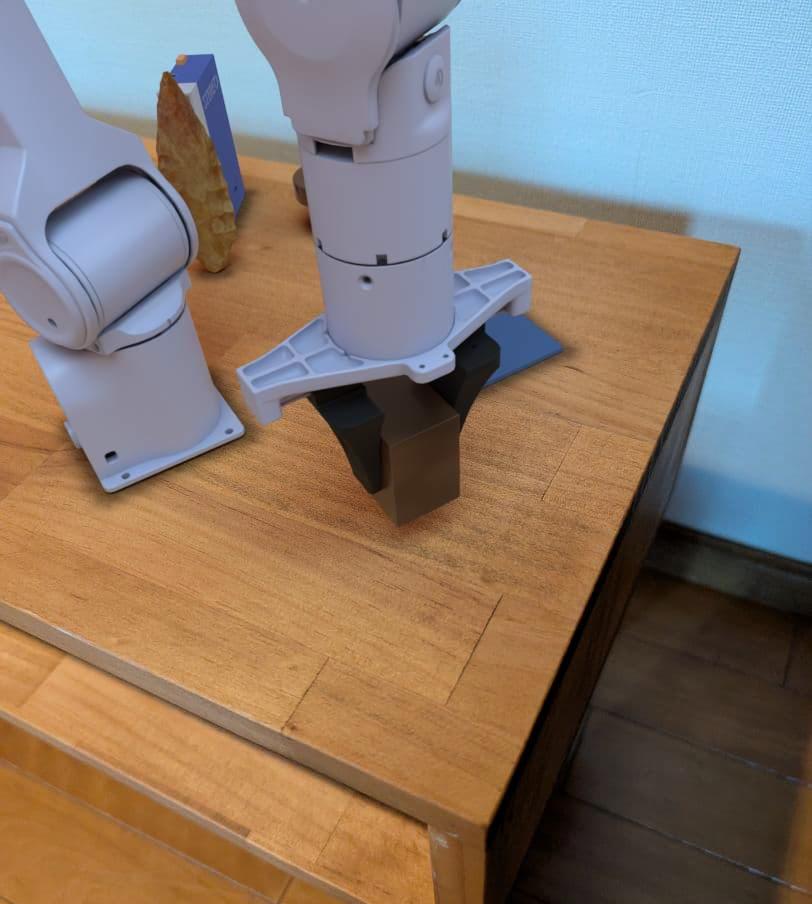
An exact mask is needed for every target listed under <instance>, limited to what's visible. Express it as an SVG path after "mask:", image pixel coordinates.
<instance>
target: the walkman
mask: <svg viewBox="0 0 812 904" xmlns="http://www.w3.org/2000/svg"><path fill="white" fill-rule="evenodd" d="M169 73H170V74H171V75H172V77H173V78H174V80H175V81H176V82H177V83H178V86H179V87H180V88H181V89H182V91H183V93H184V94H185V95H186V97H187V99H188V100H189V101H190V103H191V106H192V107H193V109H194V112H195V114H196V115H197V116H198V118H199V120H200V121H201V123H202V124H203V126H204V128H205V130H206V133H207V135H208V136H209V137H210V138H211V140H212V141H213V143H214V147H215V149H216V154H217V157H218V160H219V161H220V164H221V167H222V172H223V177H224V179H225V181H226V183H227V185H228V192H229V198H230V200H231V202H232V204H233V209H234V214H235V215H234V220H235V221H236V220H237V219H236V218H237V216H238V214H239V211H240V208H241V206H242V204H243V201H244V198H245V196H246V189H245V184H244V181H243V176H242V173H241V167H240V164H239V158H238V155H237V150H236V146H235V141H234V138H233V131H232V129H231V124H230V120H229V115H228V111H227V108H226V106H227V105H226V102H225V98H224V97H225V96H224V94H223V89H222V85H221V81H220V75H219V71H218V68H217V63H216V59H215V54H214V53H201V54H199V53H198V54H186V53H185V54H178V56H177V57H176V59H175V64H174V66H173V67H172V69H171V70H170V71H169ZM159 91H160V88H159V89H158V90H157V92H156V97H157V98H158V96H159Z"/></svg>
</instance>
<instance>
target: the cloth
mask: <svg viewBox="0 0 812 904" xmlns="http://www.w3.org/2000/svg"><path fill="white" fill-rule="evenodd" d="M485 332H486V333H487V334H488V335H489V336H490V337H491V338H493V339H494V340H495V341H496V342H497V343H498V344H499V345H500V348H501V354H500V367H499V368H498V369H497V370H496V371H495V372H494V374H493V375H492V376H491V377H490V378H489V380H488V381H487V382H486V384H485V385H484V386H483V388H482V389H484V388H486V387H489V386H491V385H493V384H495V383H497V382H500V381H502V380H504V379H506V378H508V377H510V376H513V375H515V374H517V373H520V372H521V371H524V370H526V369H528V368H530V367H531V366H534V365H537V364H539V363H540V362H542V361H545V360H547V359H549V358H552V357H554V356H556V355H558V354H560V353H562V352H564V350H565V349H564V348H565V347H564V345H562V344H561V343H560V342H559V341H557V340H556V339H555V338H554V337H552V336H551V335H550V334H549V333H547V332H546V331H545V330H543V329H542V328H541V327H539V325H537V324H536V323H534V322H533V321H532V320H531V319H530V318H528V317H526V316H525V315H524V313H523V314H521V315H518V316H515V317H514V316H510V315H509V314H508V313H507V312H506V311H505V312H503V313H500V314H498V315H496V316H493V317H491V318H489V319H488V320H487V321H486V322H485Z"/></svg>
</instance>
